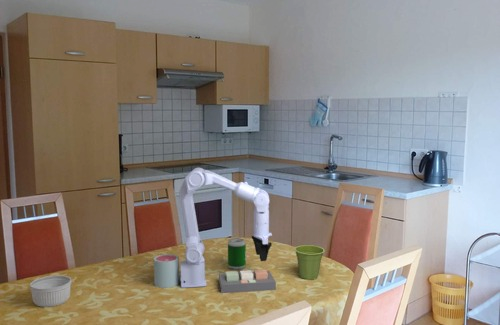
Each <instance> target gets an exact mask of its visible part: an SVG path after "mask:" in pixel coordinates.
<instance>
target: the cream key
mask: <svg viewBox="0 0 500 325" xmlns="http://www.w3.org/2000/svg"><path fill="white" fill-rule="evenodd" d="M239 272H240V279H241V280H253V273H252V272H253V271H252V270H250V269H249V270H239Z"/></svg>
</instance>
